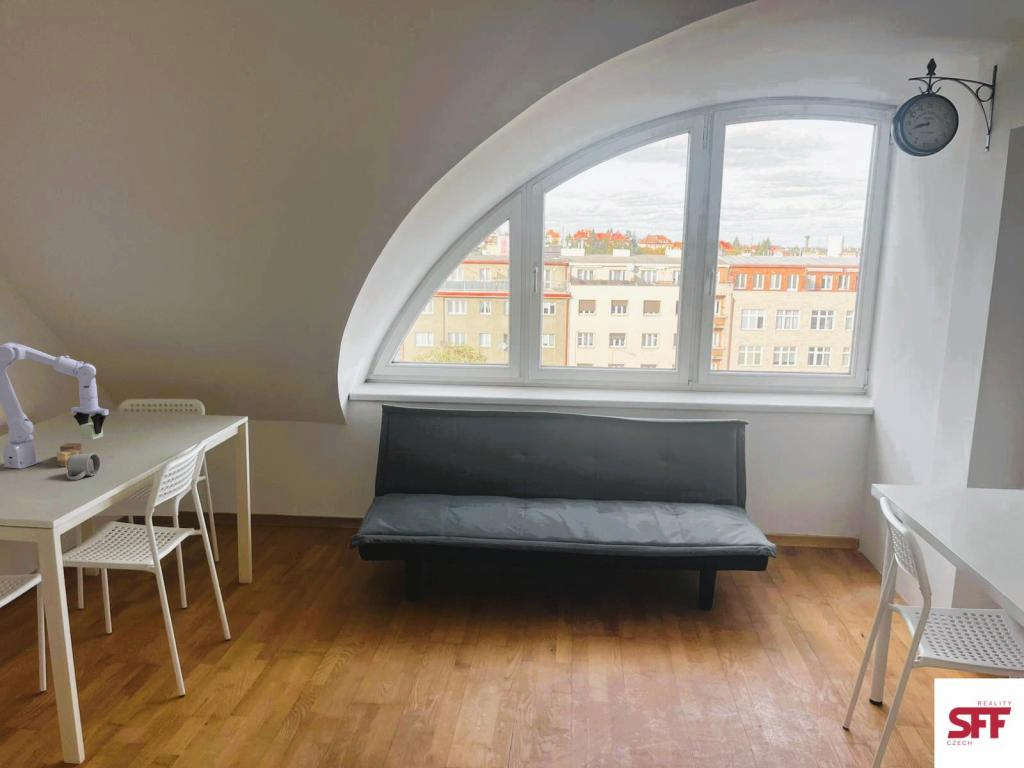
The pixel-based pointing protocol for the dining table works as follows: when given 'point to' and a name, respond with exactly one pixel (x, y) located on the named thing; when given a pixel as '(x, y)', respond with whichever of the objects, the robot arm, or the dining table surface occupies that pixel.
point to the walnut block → (72, 447)
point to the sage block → (89, 431)
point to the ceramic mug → (83, 465)
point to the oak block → (65, 456)
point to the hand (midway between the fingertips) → (91, 432)
